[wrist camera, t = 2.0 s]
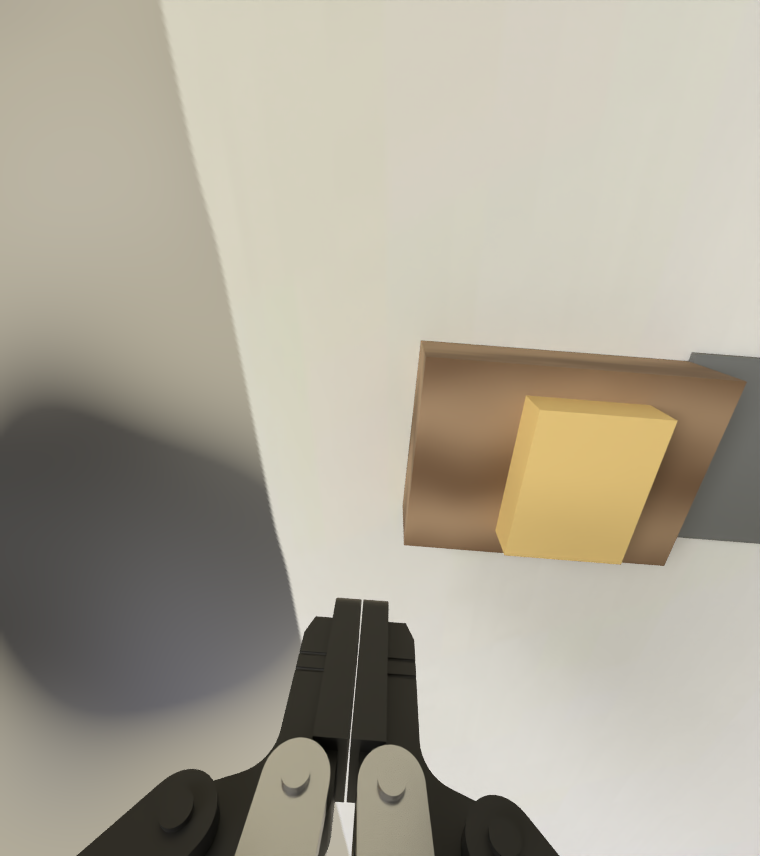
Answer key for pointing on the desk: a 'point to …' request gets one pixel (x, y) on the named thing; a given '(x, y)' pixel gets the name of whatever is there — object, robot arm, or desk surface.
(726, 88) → the desk surface
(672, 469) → the brown wooden block
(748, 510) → the mat
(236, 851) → the robot arm
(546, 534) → the tile
